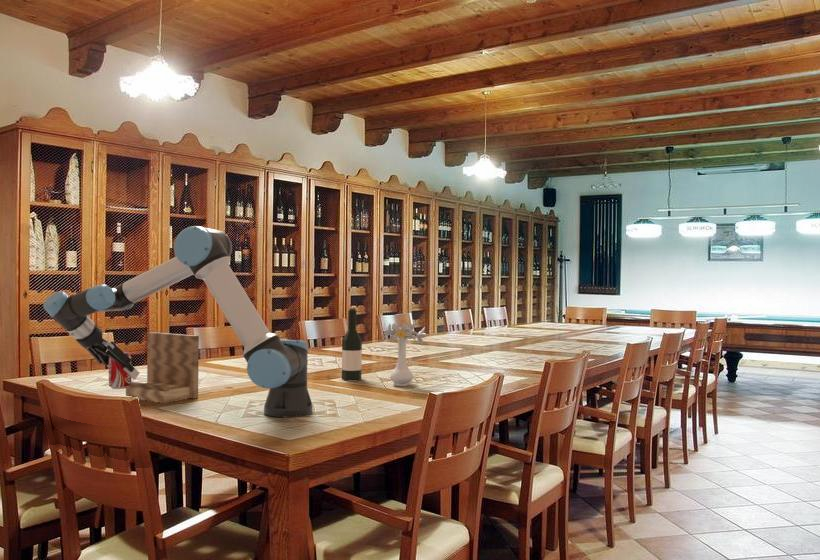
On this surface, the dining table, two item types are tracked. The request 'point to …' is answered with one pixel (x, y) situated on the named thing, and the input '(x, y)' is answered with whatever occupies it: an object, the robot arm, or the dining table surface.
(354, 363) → the wine bottle
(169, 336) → the cleat board
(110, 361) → the soda can
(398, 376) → the flower vase
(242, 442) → the dining table surface
